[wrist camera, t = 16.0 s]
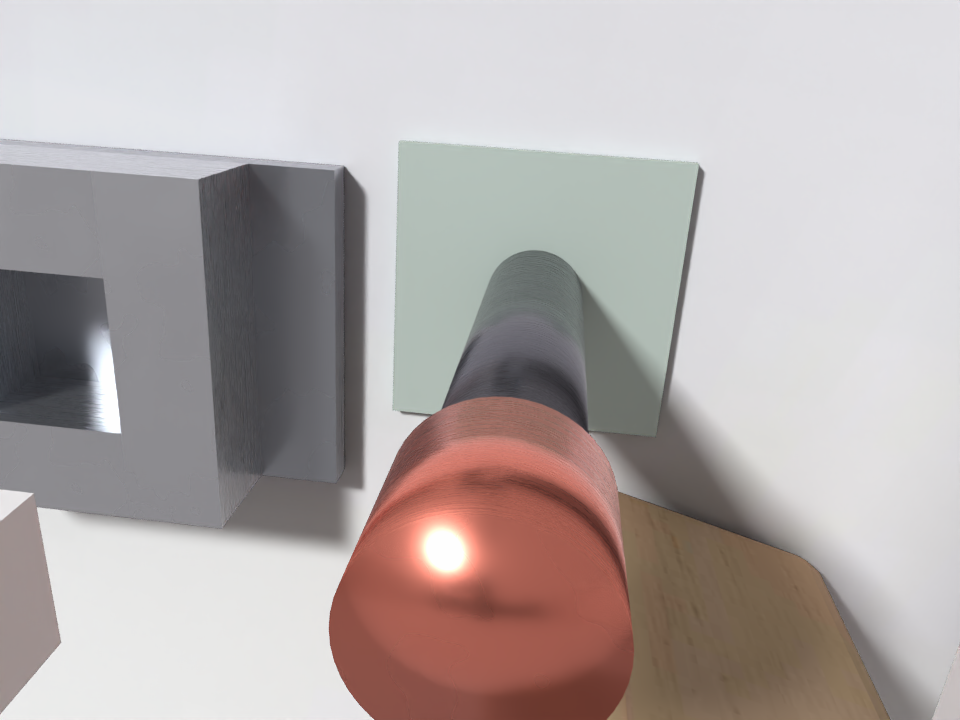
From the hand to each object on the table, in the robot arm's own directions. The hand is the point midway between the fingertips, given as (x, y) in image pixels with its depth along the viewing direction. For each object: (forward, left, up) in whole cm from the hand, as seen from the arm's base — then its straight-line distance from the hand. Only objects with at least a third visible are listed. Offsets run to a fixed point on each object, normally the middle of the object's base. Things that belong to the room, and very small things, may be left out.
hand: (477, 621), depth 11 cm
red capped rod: (0, 0, -18) cm, 18 cm away
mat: (0, 0, -18) cm, 18 cm away
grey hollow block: (+2, -14, -18) cm, 23 cm away
